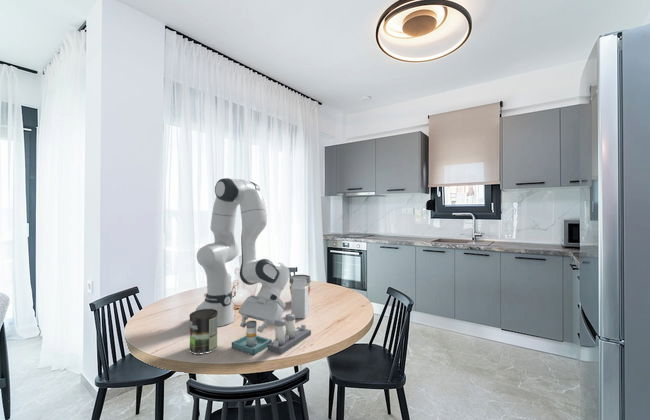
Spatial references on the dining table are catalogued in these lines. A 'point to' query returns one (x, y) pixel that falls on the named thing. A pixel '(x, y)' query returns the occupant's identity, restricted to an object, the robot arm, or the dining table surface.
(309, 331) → the fuse block
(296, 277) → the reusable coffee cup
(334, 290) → the dining table surface
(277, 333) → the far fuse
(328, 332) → the dining table surface
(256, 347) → the tray
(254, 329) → the marked fuse
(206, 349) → the coffee can
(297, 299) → the milk carton
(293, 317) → the middle fuse
